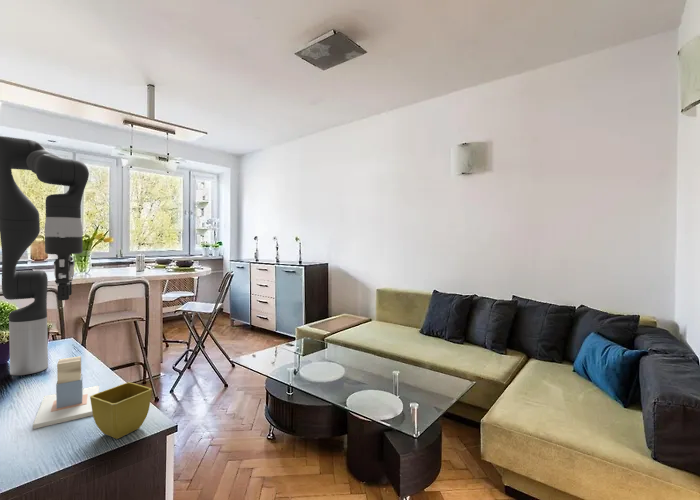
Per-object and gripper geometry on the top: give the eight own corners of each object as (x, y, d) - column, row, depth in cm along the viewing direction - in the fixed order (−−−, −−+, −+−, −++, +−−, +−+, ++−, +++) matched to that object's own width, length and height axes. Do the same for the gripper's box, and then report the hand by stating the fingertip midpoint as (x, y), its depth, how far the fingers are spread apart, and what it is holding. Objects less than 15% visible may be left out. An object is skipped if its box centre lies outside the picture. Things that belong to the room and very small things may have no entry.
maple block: (59, 378, 89) (59, 359, 89) (81, 374, 92) (81, 356, 92) (57, 384, 86) (57, 364, 86) (80, 380, 88) (80, 360, 88)
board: (44, 399, 93) (44, 395, 93) (99, 388, 100) (99, 385, 100) (33, 429, 78) (33, 424, 78) (98, 413, 85) (98, 409, 85)
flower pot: (153, 426, 79) (153, 388, 79) (114, 447, 71) (113, 404, 71) (129, 418, 83) (129, 381, 83) (89, 436, 75) (88, 396, 75)
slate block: (58, 401, 89) (58, 378, 89) (82, 396, 92) (82, 374, 92) (56, 408, 85) (56, 384, 85) (82, 403, 88) (81, 380, 88)
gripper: (48, 235, 92) (49, 295, 93) (40, 235, 81) (41, 303, 81) (83, 236, 97) (84, 293, 97) (81, 235, 85) (82, 300, 86)
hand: (65, 297), depth 89 cm, fingers open, 8 cm apart
